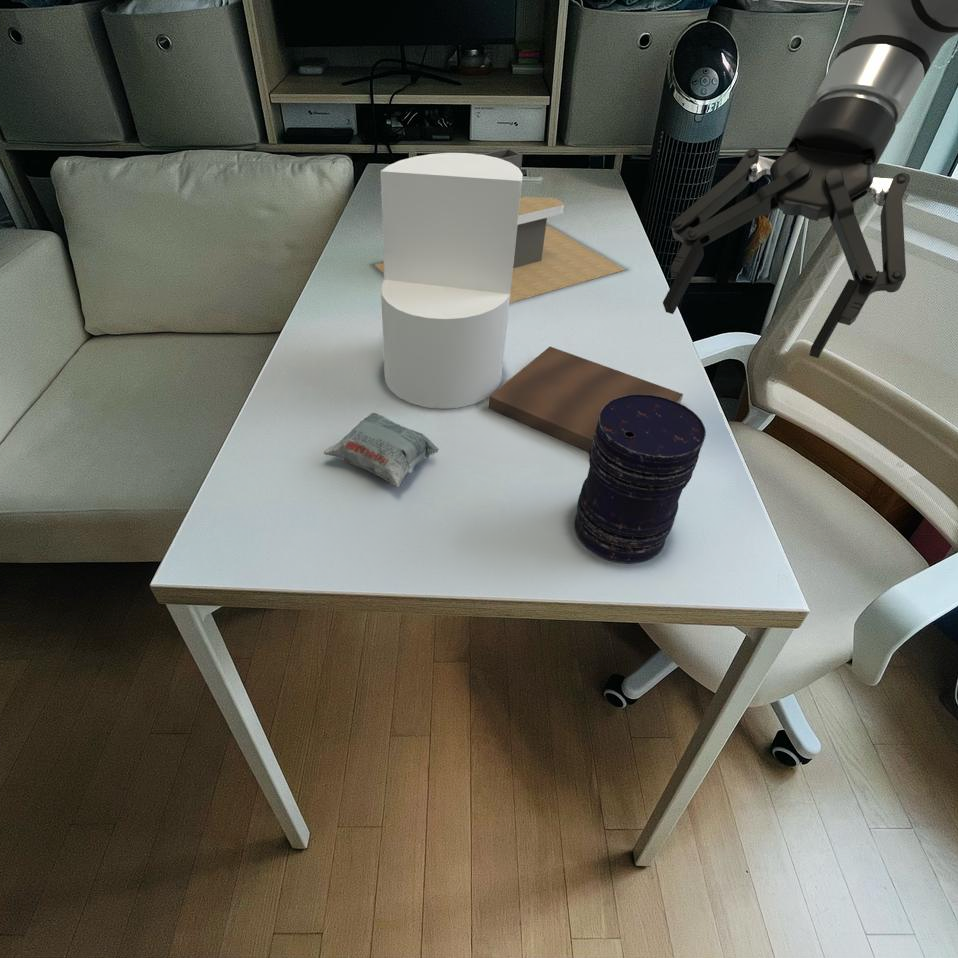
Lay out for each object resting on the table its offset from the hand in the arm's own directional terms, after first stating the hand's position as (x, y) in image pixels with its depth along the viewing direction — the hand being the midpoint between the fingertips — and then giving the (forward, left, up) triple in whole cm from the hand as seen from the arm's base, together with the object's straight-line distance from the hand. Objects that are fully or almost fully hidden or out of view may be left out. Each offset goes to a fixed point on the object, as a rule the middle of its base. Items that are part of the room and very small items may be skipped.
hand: (737, 329), depth 63 cm
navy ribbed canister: (+2, +10, -21) cm, 24 cm away
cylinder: (+36, -3, -21) cm, 42 cm away
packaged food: (+30, +18, -21) cm, 41 cm away
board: (+16, -8, -21) cm, 28 cm away
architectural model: (+49, -37, -21) cm, 65 cm away
